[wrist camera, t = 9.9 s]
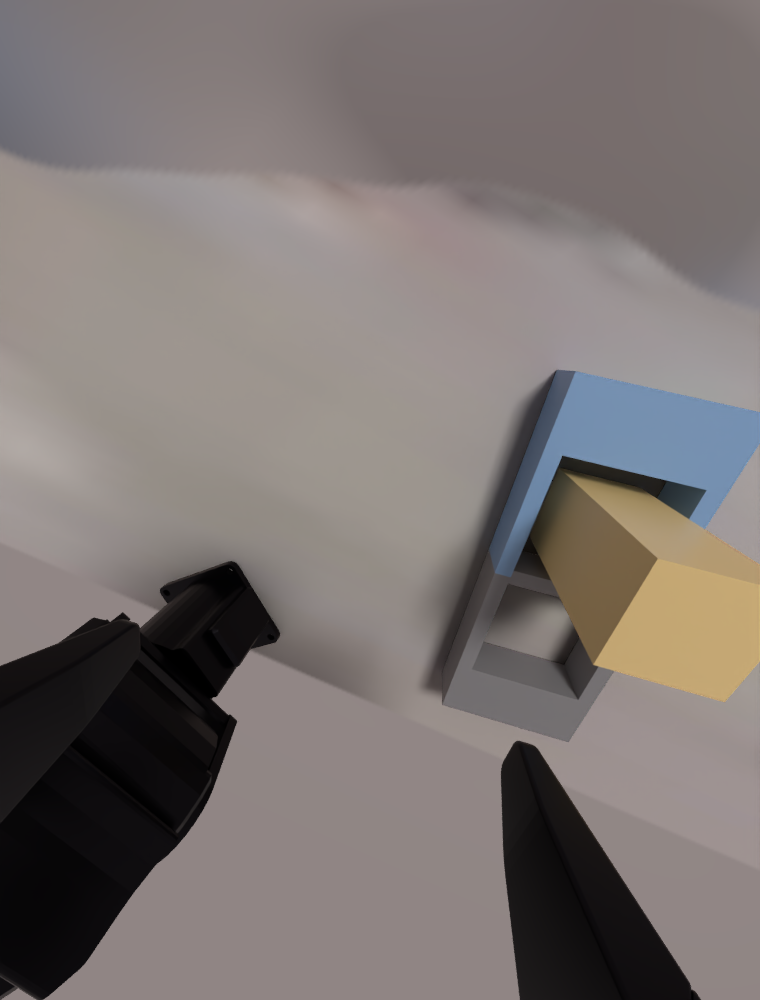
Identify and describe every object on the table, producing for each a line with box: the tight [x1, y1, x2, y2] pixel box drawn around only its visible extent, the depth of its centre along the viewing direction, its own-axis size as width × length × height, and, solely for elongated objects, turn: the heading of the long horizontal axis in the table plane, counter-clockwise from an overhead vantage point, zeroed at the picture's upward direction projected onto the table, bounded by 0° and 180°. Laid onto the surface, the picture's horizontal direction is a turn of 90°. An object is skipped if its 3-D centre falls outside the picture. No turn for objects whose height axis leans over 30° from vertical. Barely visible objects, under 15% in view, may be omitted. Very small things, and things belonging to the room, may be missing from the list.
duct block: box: [442, 370, 760, 742], centre depth 19 cm, size 19×8×2 cm, turn 168°
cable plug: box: [530, 468, 760, 702], centre depth 14 cm, size 4×4×9 cm
